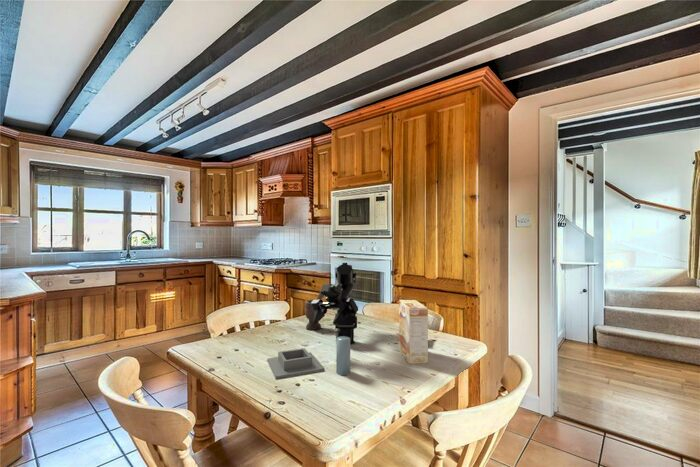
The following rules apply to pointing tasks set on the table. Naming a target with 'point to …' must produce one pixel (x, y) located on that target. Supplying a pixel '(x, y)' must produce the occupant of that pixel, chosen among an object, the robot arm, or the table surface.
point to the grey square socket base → (294, 363)
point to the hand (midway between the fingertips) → (323, 323)
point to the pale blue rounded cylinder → (343, 355)
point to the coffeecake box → (413, 331)
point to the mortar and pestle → (312, 314)
